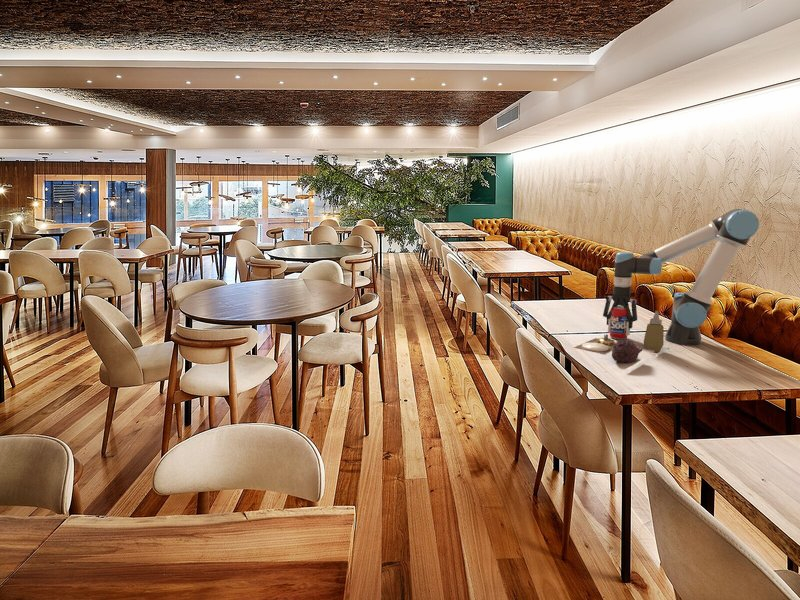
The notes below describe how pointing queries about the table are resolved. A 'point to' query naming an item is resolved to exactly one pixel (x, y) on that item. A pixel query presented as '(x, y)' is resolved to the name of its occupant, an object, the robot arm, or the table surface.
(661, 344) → the squeeze bottle
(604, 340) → the brass gear
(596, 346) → the ceramic plate
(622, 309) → the soda can
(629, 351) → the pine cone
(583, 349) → the gear board
